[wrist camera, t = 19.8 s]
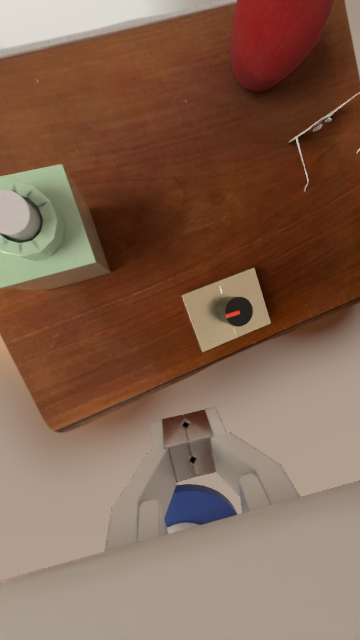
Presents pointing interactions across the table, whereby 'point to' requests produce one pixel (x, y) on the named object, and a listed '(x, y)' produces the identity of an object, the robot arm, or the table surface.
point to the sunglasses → (318, 129)
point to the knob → (234, 311)
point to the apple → (274, 38)
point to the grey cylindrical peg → (17, 216)
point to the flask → (51, 235)
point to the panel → (205, 300)
